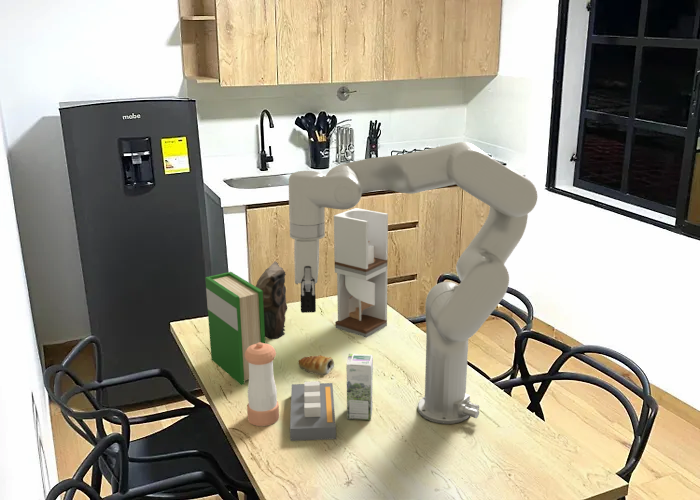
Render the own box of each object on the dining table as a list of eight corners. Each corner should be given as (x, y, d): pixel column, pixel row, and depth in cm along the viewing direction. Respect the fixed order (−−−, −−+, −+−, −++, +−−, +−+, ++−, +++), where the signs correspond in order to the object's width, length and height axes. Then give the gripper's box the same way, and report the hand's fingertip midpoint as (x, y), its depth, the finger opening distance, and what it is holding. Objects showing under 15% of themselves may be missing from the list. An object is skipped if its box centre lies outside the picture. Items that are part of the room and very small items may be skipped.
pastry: (293, 371, 189) (293, 358, 187) (304, 360, 194) (304, 347, 193) (326, 377, 185) (326, 364, 184) (336, 366, 191) (336, 353, 190)
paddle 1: (304, 390, 171) (304, 381, 169) (319, 390, 171) (319, 381, 170) (304, 395, 170) (304, 385, 168) (319, 394, 170) (319, 385, 168)
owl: (276, 319, 221) (273, 257, 215) (302, 331, 212) (300, 267, 206) (242, 330, 213) (239, 267, 206) (268, 344, 204) (265, 278, 198)
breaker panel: (292, 395, 176) (291, 384, 175) (332, 393, 177) (332, 382, 176) (290, 440, 157) (290, 428, 156) (335, 438, 158) (335, 426, 157)
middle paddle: (304, 401, 166) (304, 392, 165) (320, 400, 166) (319, 391, 165) (304, 405, 165) (304, 396, 163) (320, 405, 165) (320, 395, 164)
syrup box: (372, 408, 170) (373, 353, 165) (371, 421, 164) (371, 364, 160) (349, 407, 171) (348, 352, 166) (346, 420, 165) (345, 363, 160)
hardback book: (266, 377, 185) (262, 290, 178) (241, 385, 181) (235, 297, 174) (235, 352, 199) (230, 271, 191) (211, 359, 195) (205, 277, 187)
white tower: (335, 328, 214) (333, 215, 203) (356, 316, 222) (356, 207, 211) (366, 337, 207) (366, 221, 197) (386, 325, 216) (387, 213, 205)
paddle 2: (304, 412, 162) (304, 403, 160) (320, 412, 162) (320, 402, 160) (304, 417, 160) (304, 407, 159) (320, 416, 161) (320, 407, 159)
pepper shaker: (283, 422, 164) (279, 346, 158) (252, 429, 162) (247, 352, 156) (274, 407, 171) (271, 334, 165) (244, 413, 168) (240, 339, 162)
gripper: (290, 218, 161) (291, 289, 166) (288, 241, 144) (290, 319, 150) (323, 218, 161) (324, 289, 166) (325, 241, 145) (326, 318, 150)
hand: (308, 303), depth 158 cm, fingers open, 9 cm apart
